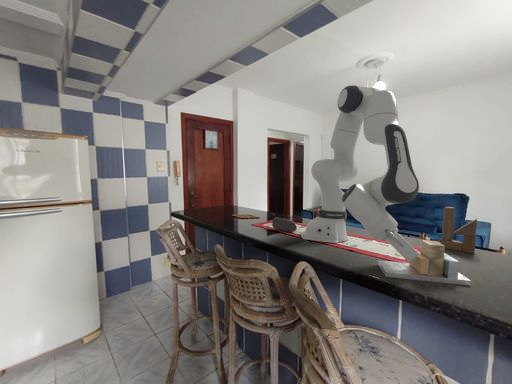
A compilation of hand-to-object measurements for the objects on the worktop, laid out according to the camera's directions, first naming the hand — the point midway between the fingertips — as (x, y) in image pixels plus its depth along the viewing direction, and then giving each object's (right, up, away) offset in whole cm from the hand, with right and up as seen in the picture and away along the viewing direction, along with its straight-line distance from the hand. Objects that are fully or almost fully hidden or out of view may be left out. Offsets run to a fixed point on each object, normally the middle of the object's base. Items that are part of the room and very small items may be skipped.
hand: (413, 259), depth 73 cm
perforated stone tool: (-34, 0, +55) cm, 65 cm away
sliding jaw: (+2, -3, 0) cm, 4 cm away
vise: (+2, -5, 0) cm, 5 cm away
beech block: (+5, -3, -1) cm, 6 cm away
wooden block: (+35, -3, +24) cm, 42 cm away
